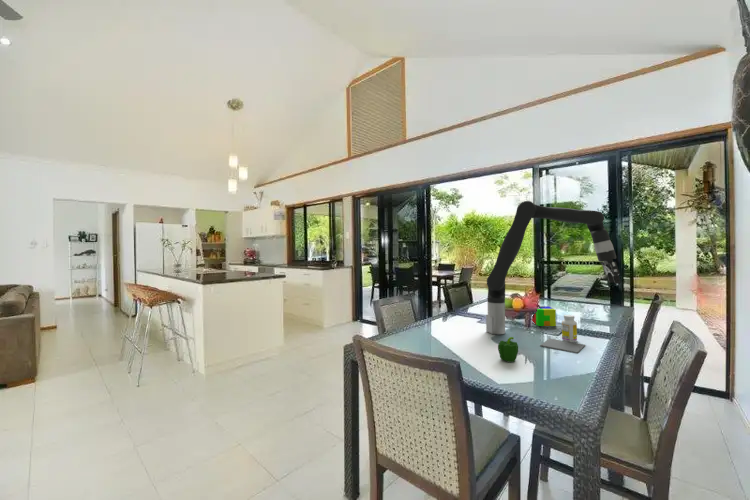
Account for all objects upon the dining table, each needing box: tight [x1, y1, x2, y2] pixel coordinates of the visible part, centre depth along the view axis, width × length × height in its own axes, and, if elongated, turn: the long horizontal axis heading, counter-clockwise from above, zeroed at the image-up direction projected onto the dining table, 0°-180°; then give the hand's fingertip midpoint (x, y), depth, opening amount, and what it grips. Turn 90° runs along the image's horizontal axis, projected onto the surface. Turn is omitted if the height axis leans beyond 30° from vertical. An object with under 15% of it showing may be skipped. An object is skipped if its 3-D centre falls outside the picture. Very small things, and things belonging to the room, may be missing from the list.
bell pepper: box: [497, 336, 519, 363], centre depth 146 cm, size 8×8×10 cm
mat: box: [539, 338, 586, 354], centre depth 164 cm, size 14×16×1 cm
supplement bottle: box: [561, 314, 578, 343], centre depth 172 cm, size 7×7×13 cm
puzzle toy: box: [531, 305, 557, 327], centre depth 204 cm, size 10×10×10 cm
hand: (615, 283), depth 164 cm, fingers open, 8 cm apart
